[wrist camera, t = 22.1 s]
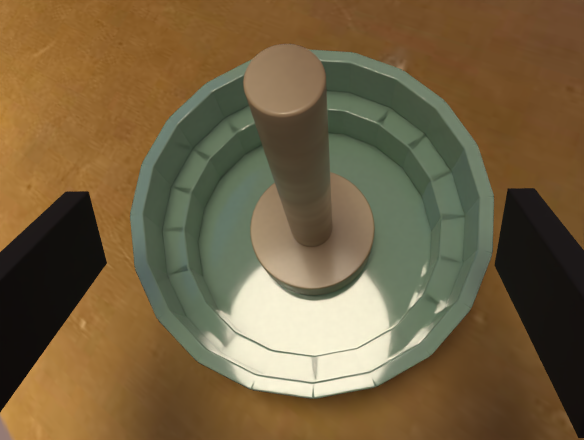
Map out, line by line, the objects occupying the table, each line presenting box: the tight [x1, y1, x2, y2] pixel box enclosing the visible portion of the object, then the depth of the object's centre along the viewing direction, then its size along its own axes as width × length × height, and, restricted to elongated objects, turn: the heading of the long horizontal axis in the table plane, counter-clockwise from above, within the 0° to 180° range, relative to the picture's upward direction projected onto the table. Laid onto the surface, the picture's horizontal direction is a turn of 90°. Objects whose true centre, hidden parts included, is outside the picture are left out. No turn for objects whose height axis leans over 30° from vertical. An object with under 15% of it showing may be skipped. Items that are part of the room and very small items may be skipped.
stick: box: [243, 44, 375, 295], centre depth 19 cm, size 6×6×15 cm
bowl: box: [130, 50, 494, 399], centre depth 24 cm, size 15×15×6 cm
